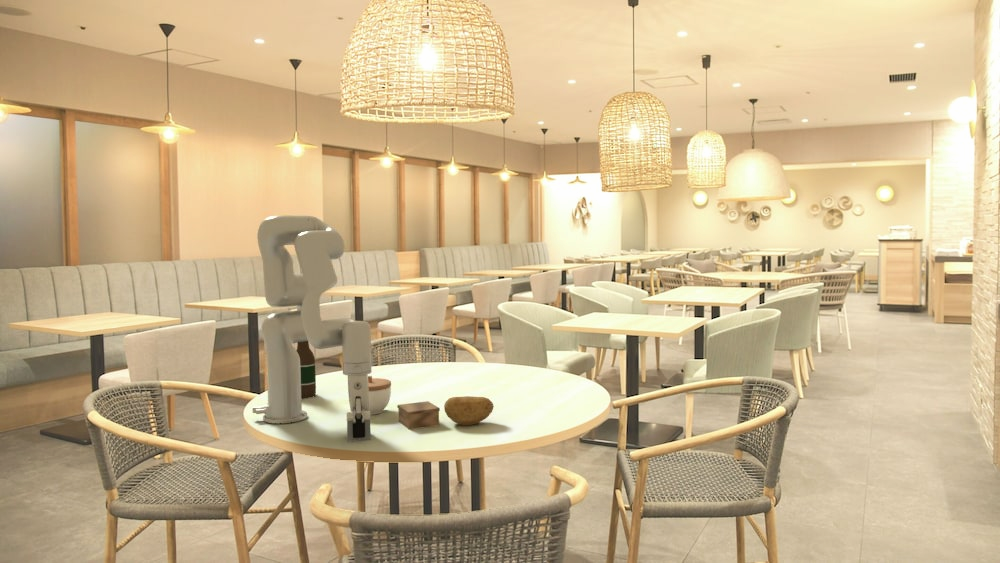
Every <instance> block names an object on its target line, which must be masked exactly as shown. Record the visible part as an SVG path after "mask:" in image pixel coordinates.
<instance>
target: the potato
mask: <svg viewBox="0 0 1000 563" xmlns="http://www.w3.org/2000/svg"><path fill="white" fill-rule="evenodd" d="M443 407H444V412H445V414H446V416H447V417H448V419H450V420H451V421H452V422H454V423H456V424H458V425H463V426H472V425H475V424H478V423H480V422H482V421H485V419H487V418H488V417H489V416H490V415H491V413H493V411H494V403H493V401H491V400H490V399H489V398H487V397H484V396H453V397H450V398H448V399H447V400H446V401H445V403H444V406H443Z"/></svg>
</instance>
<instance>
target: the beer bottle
mask: <svg viewBox="0 0 1000 563" xmlns="http://www.w3.org/2000/svg"><path fill="white" fill-rule="evenodd" d="M295 350H296V351H297V353H298V355H299V357H300V370H301V399H310V397H311V398H313V396H314V397H316V394H317V385H316V382H317V380H316V360H315V359H316V357H315V355H314V353H313V351H312V350H311V348H310V343H309V341H304V342H297V346H296V349H295Z"/></svg>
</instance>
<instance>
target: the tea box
mask: <svg viewBox="0 0 1000 563" xmlns="http://www.w3.org/2000/svg"><path fill="white" fill-rule="evenodd" d="M396 407H397V409H398V412H397V413H398V423H399V424H401V425H402V426H404V427H405V429H407V430H414V429H422V428H423V429H424V428H430V427H437V426H440V407H438V406H437V405H435V404H434V403H432V402H430V401H428V400H427V401H419V402H413V403H403V404H397V406H396Z"/></svg>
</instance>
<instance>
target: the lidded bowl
mask: <svg viewBox="0 0 1000 563" xmlns="http://www.w3.org/2000/svg"><path fill="white" fill-rule="evenodd" d="M368 386H369V411H370V416H371V415H373V416H374V415H378V414H382V413H383V411H384V409H386V407H387V406H388V404H389V402H390V398H391V393H392V389H391V386H392V382H391V380H389V379H387V378H379V377H378V378H377V377H373V376H372V375H368ZM364 411H367V410H364Z"/></svg>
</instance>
